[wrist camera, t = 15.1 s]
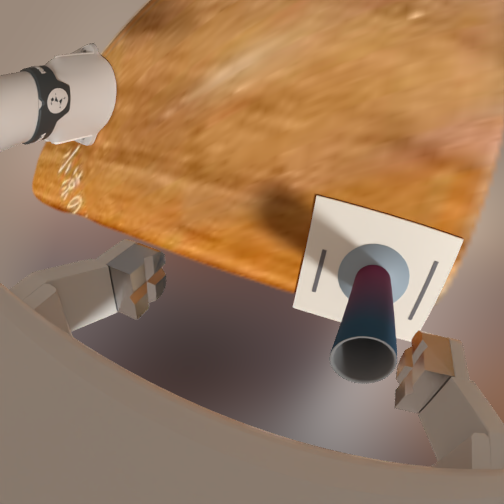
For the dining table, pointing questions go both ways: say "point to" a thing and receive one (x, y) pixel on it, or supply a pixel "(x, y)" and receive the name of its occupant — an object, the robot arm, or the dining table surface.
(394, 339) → the cup
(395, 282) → the paper sheet
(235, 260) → the dining table surface
